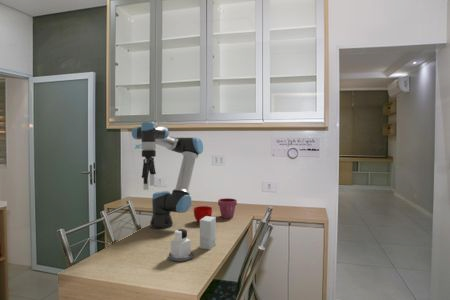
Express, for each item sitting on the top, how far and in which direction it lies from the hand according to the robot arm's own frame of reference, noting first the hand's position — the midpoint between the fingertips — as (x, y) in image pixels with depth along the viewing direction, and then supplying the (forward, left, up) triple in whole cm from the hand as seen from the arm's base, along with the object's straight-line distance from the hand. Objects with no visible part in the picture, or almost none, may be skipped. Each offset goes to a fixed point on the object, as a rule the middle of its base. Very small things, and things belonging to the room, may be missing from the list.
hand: (149, 187), depth 153 cm
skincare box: (+7, +33, -32) cm, 46 cm away
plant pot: (-53, +46, -32) cm, 77 cm away
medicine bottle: (+20, +20, -30) cm, 41 cm away
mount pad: (+20, +20, -31) cm, 42 cm away
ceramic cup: (-37, +29, -32) cm, 57 cm away
